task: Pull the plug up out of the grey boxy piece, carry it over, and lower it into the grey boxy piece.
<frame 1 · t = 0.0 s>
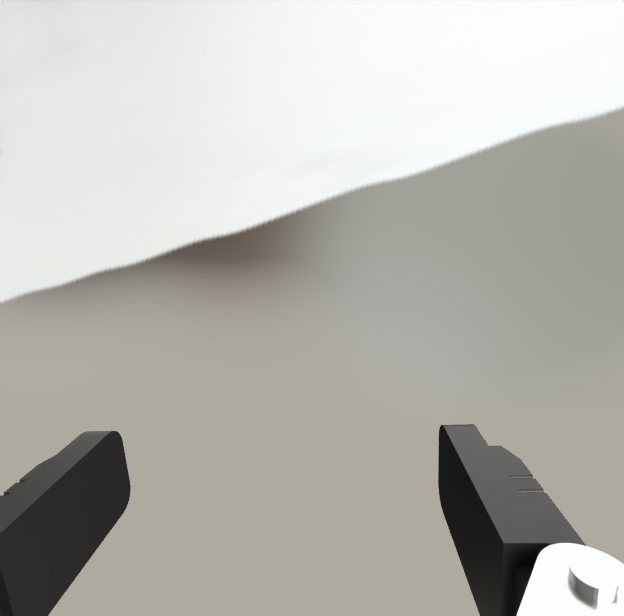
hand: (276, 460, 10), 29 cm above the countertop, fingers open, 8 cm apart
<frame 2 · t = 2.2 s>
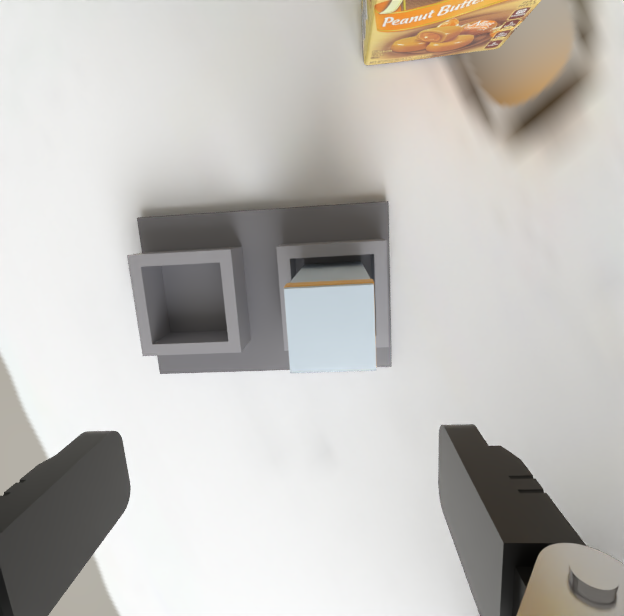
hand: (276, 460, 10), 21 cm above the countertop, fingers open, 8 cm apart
candy box: (429, 25, 26), on the countertop
grey boxy piece: (268, 291, 30), on the countertop
plug: (334, 290, 29), point 1 cm above the countertop, touching grey boxy piece
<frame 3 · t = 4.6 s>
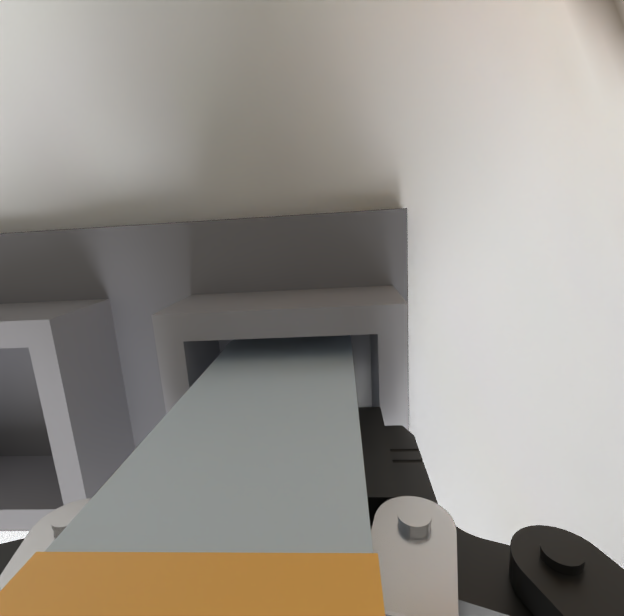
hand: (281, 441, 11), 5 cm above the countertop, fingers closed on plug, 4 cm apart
grey boxy piece: (174, 378, 16), on the countertop
plug: (296, 385, 14), point 1 cm above the countertop, touching gripper, grey boxy piece
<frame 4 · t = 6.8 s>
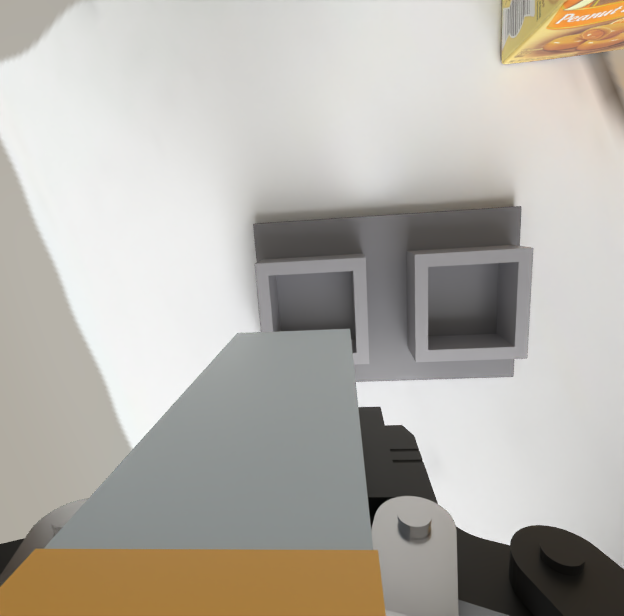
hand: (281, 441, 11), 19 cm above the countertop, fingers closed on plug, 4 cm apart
candy box: (570, 22, 25), on the countertop
grey boxy piece: (384, 299, 29), on the countertop
plug: (296, 384, 14), point 15 cm above the countertop, touching gripper
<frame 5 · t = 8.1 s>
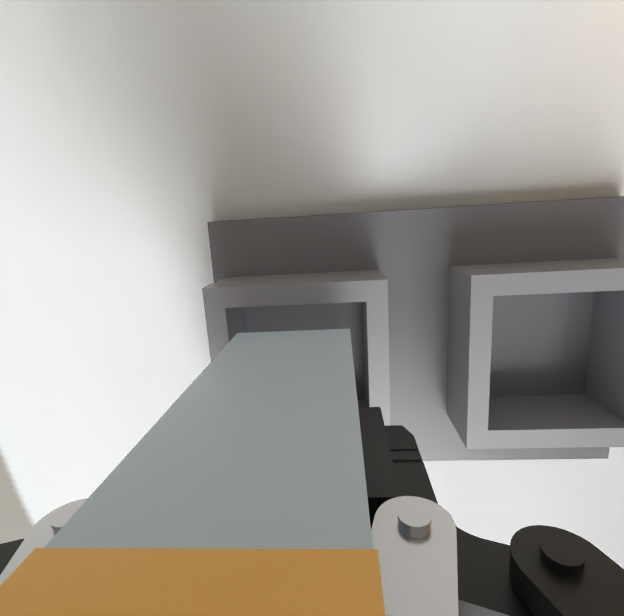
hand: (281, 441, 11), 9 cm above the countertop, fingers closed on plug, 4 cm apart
grey boxy piece: (410, 337, 19), on the countertop
plug: (296, 383, 14), point 5 cm above the countertop, touching gripper
when the fingers open (6 cm above the countertop, at t = 9.1 s): plug stays where it is, resting on grey boxy piece.
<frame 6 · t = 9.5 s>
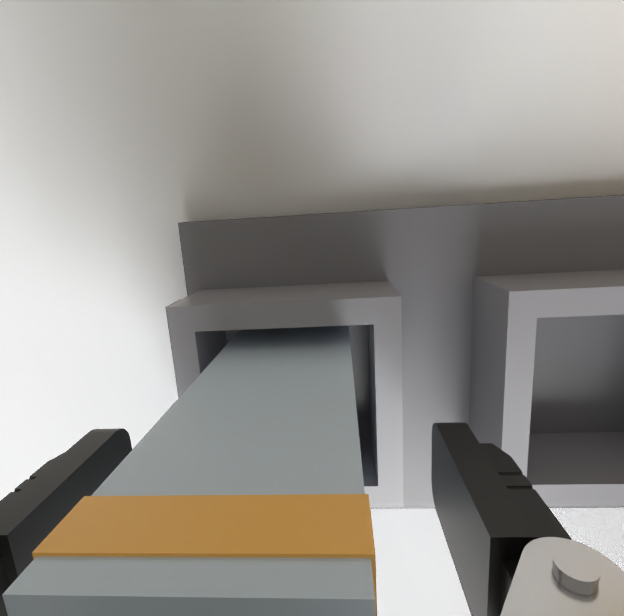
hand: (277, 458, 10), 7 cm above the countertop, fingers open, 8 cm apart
grey boxy piece: (424, 361, 16), on the countertop
plug: (298, 374, 15), point 1 cm above the countertop, touching grey boxy piece
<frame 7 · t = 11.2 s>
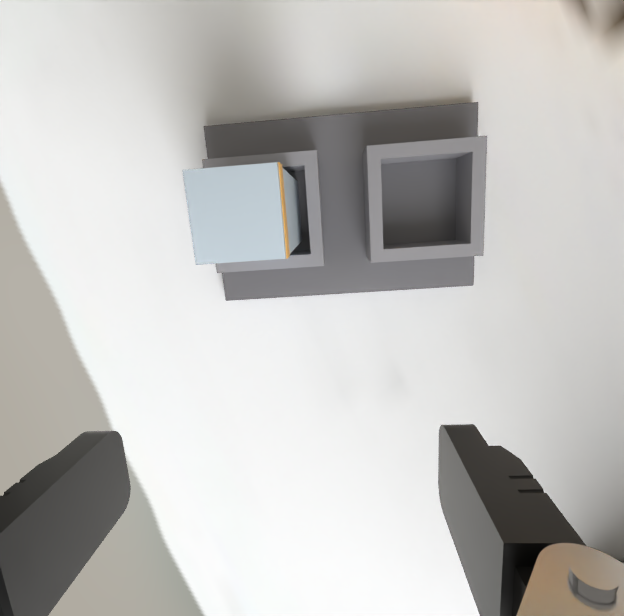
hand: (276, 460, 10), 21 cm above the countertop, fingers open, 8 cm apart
grey boxy piece: (342, 208, 28), on the countertop
plug: (271, 213, 28), point 1 cm above the countertop, touching grey boxy piece
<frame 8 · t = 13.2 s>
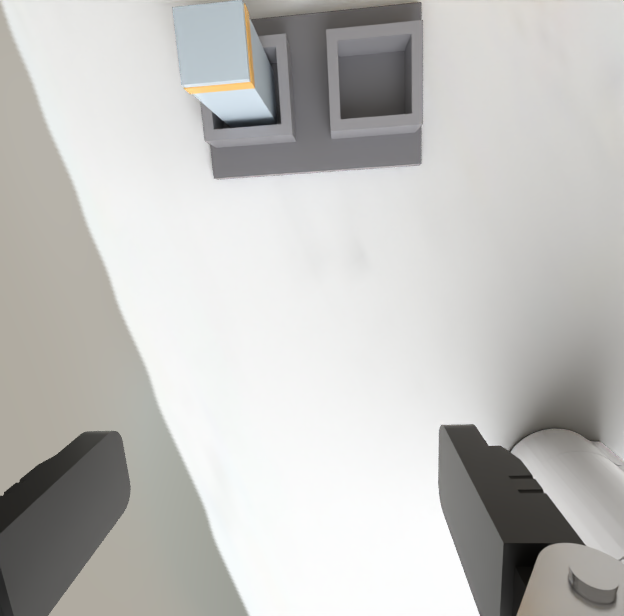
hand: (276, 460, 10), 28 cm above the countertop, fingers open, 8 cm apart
grey boxy piece: (312, 99, 34), on the countertop
plug: (252, 100, 33), point 1 cm above the countertop, touching grey boxy piece
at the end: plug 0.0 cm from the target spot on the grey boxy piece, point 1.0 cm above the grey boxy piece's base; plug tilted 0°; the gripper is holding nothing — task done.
